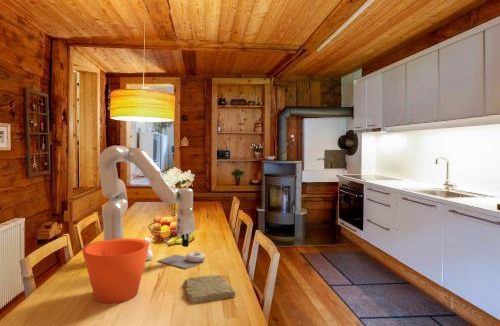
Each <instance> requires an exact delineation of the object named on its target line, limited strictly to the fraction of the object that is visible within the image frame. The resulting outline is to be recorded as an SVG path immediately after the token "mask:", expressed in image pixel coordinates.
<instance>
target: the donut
mask: <svg viewBox="0 0 500 326" xmlns="http://www.w3.org/2000/svg"><path fill="white" fill-rule="evenodd" d="M185 257H186V259H187V261H189V262H201V261H203V262H204V260H205V258H206V254H204V253H203V252H200V251H192V252H189V253H187V254H186V256H185Z"/></svg>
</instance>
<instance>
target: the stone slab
mask: <svg viewBox="0 0 500 326" xmlns="http://www.w3.org/2000/svg"><path fill="white" fill-rule="evenodd" d="M182 286H183V288H185V290H186V291H185V292H186V293H185V295H186V298H187V299H189V302H190V303H191V304H192V305H193V304H200V303H206V302H207V303H209V302H213V300H214V301H220V300H219V299H221V300H225V299H224V298H227V299H229V298H228V297H233V296H235V297H236V290H235V289H234V287H232V286H231V284H230V283H229V282H228V281H227V280H226V278H223V276H221V275H220V274H215V275H214V274H213V275H211V274H210V275H203V276H196V277H189V278H185V279H184V282H183V283H182ZM233 298H234V297H233Z"/></svg>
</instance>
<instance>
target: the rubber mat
mask: <svg viewBox="0 0 500 326" xmlns="http://www.w3.org/2000/svg"><path fill="white" fill-rule="evenodd" d="M157 263H161V264H164V265H169V266H172V267H176V268H178V269H179V268H180V269H183V270H188V269H191V268H193V267H195V266H198V265H200V263H201V264H203V263H204V260H203V261H201V262H189V261H187V259H186V256H184V255H180V254H172V255H170V256H167V257H164V258H160V259H158V260H157Z"/></svg>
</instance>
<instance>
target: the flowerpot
mask: <svg viewBox="0 0 500 326" xmlns="http://www.w3.org/2000/svg"><path fill="white" fill-rule="evenodd" d="M149 246H150V244H149V243H148V242H146V241H144V240H143V239H139V238H128V237H127V238H126V237H125V238H124V237H123V238H121V239H109V240H104V239H103V240H98V241H94V242H91V243H89V244H87V245H85V246H83V247H82V249H81V251H82V254H83V258H84V262H85V265H86V266H85V267H86V271H87V274H88V277H89V282H90V284H91V289H92V292H93V296H94V297H93V298H94V300H95V302H97V303H100V304H107V305H109V304H114V305H115V304H119V303H124V302H128V301H131V300H132V299H134V298H135V297H136V296H138V293H139V292H138V291H139V289H140V285H141V280H142V275H143V271H144V268H145V263H146V261H145V260H146V255H147V251H148V247H149Z"/></svg>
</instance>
